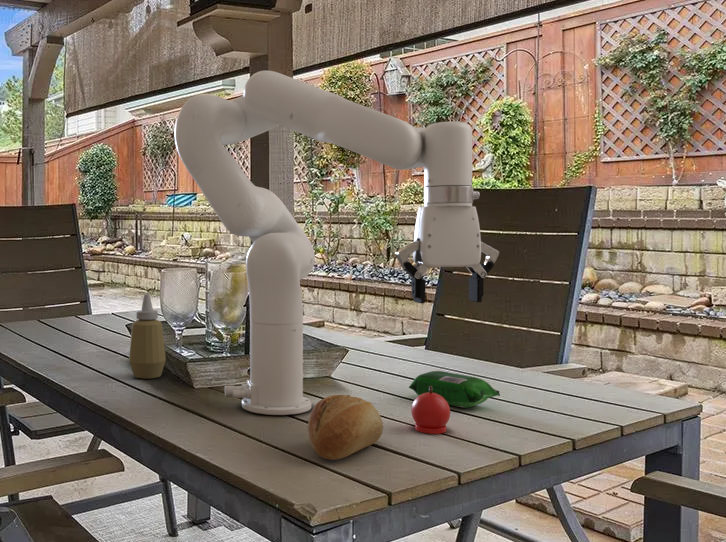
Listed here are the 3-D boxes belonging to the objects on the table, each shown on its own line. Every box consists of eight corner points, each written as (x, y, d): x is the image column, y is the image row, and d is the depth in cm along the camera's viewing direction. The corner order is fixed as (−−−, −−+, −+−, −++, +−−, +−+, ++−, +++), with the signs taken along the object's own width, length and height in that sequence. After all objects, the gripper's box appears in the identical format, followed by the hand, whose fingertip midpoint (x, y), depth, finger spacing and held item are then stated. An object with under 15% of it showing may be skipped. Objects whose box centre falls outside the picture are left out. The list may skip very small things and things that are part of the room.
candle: (419, 435, 118) (419, 390, 118) (405, 425, 124) (406, 382, 124) (456, 434, 119) (456, 389, 118) (441, 424, 125) (441, 381, 124)
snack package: (478, 415, 131) (478, 385, 131) (406, 397, 143) (406, 370, 143) (502, 409, 135) (502, 380, 135) (429, 393, 147) (430, 366, 147)
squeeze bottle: (164, 380, 160) (164, 296, 160) (126, 380, 160) (126, 296, 160) (166, 372, 168) (166, 292, 168) (130, 373, 169) (130, 292, 168)
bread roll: (291, 459, 106) (291, 403, 106) (334, 434, 119) (334, 384, 119) (355, 471, 101) (356, 412, 101) (393, 444, 113) (393, 391, 113)
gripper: (486, 199, 128) (485, 299, 129) (388, 198, 126) (388, 300, 127) (509, 197, 121) (508, 303, 121) (406, 197, 119) (405, 305, 119)
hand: (447, 301), depth 124 cm, fingers open, 9 cm apart
